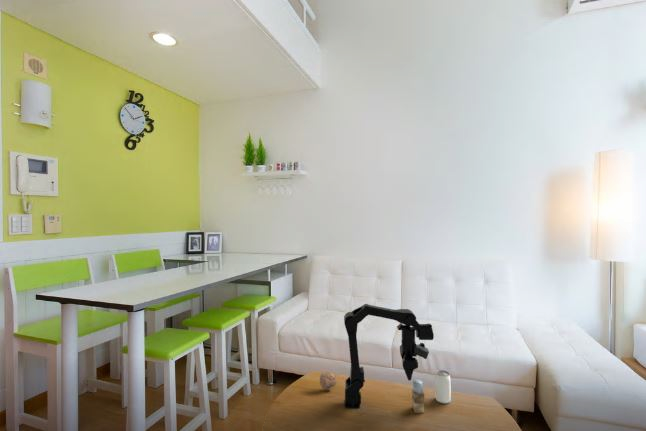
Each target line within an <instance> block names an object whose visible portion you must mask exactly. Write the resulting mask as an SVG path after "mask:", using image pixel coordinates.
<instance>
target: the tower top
mask: <svg viewBox="0 0 646 431" xmlns="http://www.w3.org/2000/svg"><path fill="white" fill-rule="evenodd" d="M411 396H412V397H411V398H412V402H413V401H414V402H415V403H424V404H425V393H424V391H423V393H421V394H418V393H415V392H414V391H413V388H411Z"/></svg>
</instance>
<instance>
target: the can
mask: <svg viewBox="0 0 646 431" xmlns="http://www.w3.org/2000/svg"><path fill="white" fill-rule="evenodd" d="M434 381H435V382H434V387H435V388H434V393H435V394H434V395H435V401H437V402H438V403H441V404H444V405H445V404H450V403H451V402H452V398H451V396H452V391H451V390H452V389H451V388H452V387H451V376H450V372H448V371H447V370H443V369H442V370H441V369H439V370H437V371H435V374H434Z"/></svg>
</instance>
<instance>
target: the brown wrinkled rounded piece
mask: <svg viewBox="0 0 646 431" xmlns="http://www.w3.org/2000/svg"><path fill="white" fill-rule="evenodd" d="M336 384H337V380H336V377H335V375H334V373H332V372H330V371H324V372H322V373H321V374H320V376H319V385H320V387H321V389H323V390H329V391H330V390H331V389H332V388H334V387H336Z"/></svg>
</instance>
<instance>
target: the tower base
mask: <svg viewBox="0 0 646 431" xmlns="http://www.w3.org/2000/svg"><path fill="white" fill-rule="evenodd" d="M412 408H413V413H415V414H416V413H417V414H419V413H420V414H425V402H424V403H415V402H414V401H413V400H412Z"/></svg>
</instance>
